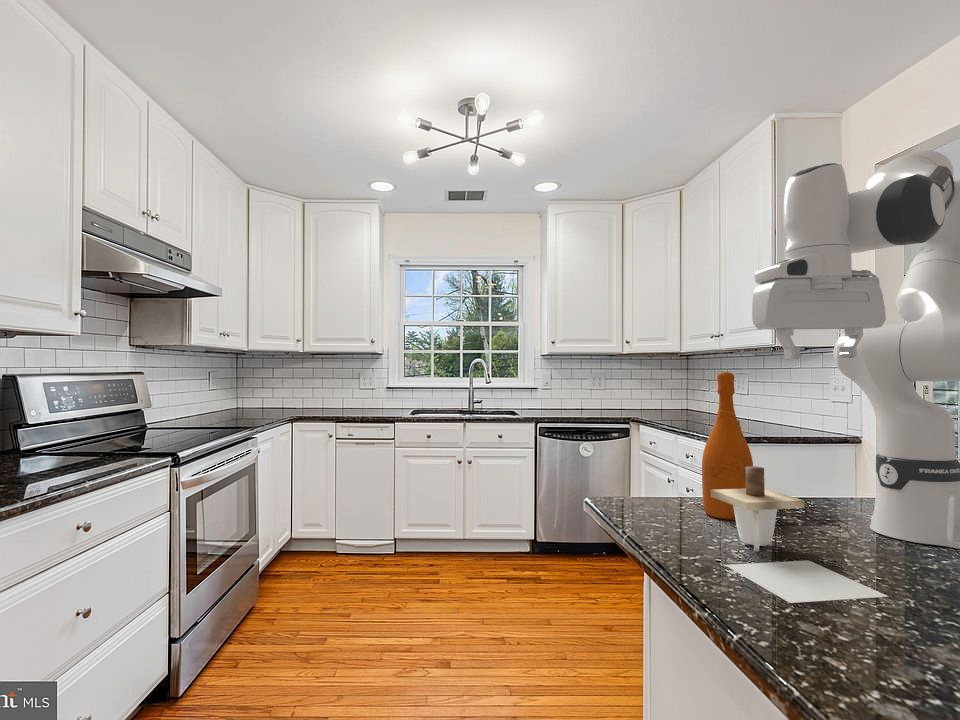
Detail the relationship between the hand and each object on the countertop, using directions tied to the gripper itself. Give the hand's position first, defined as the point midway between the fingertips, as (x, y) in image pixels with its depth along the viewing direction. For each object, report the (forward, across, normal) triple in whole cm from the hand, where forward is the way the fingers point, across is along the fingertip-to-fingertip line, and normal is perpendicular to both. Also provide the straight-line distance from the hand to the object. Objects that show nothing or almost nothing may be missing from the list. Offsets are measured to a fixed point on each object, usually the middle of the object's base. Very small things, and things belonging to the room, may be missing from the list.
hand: (820, 358), depth 84 cm
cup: (+32, +6, -8) cm, 34 cm away
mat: (+32, +9, +6) cm, 33 cm away
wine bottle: (+32, -2, -30) cm, 44 cm away
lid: (+24, +6, -8) cm, 26 cm away
